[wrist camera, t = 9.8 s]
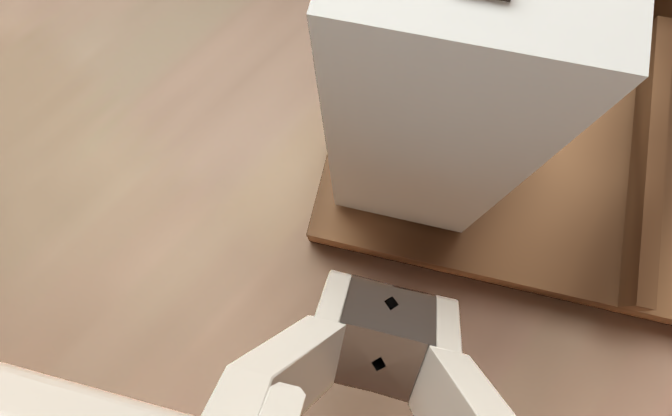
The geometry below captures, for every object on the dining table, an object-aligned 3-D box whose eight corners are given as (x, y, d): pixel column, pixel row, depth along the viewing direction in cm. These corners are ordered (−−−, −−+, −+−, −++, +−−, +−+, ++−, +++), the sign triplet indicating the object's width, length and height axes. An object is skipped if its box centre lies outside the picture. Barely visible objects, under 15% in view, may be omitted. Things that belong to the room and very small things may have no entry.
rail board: (309, 240, 17) (297, 219, 13) (376, -19, 20) (381, -93, 16) (945, 389, 15) (1128, 408, 11) (918, 75, 18) (1056, 14, 14)
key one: (335, 204, 16) (305, 6, 6) (363, 89, 17) (379, -240, 7) (461, 232, 15) (655, 70, 5) (482, 112, 16) (675, -202, 7)
